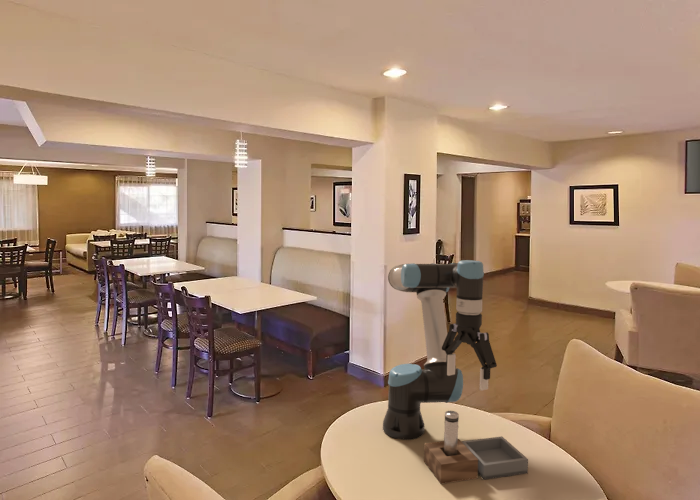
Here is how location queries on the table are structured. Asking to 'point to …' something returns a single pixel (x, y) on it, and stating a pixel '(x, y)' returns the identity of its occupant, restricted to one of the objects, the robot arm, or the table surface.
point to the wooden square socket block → (450, 462)
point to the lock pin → (451, 433)
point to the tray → (497, 457)
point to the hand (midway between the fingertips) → (466, 381)
